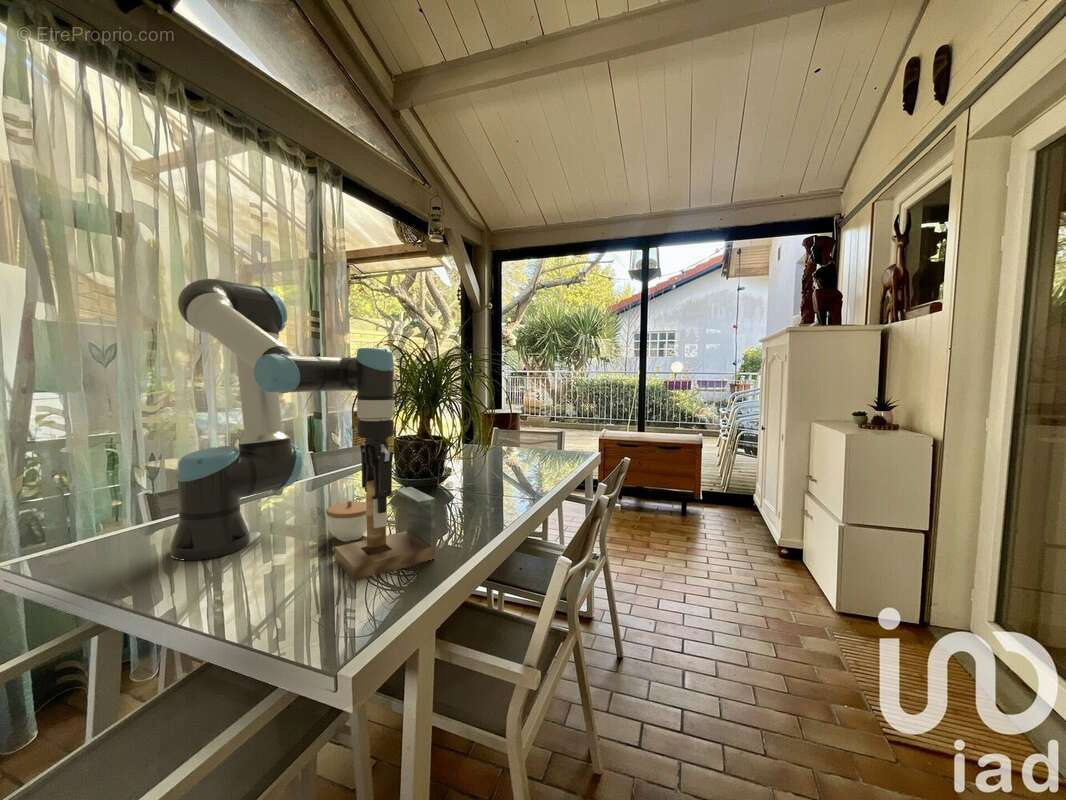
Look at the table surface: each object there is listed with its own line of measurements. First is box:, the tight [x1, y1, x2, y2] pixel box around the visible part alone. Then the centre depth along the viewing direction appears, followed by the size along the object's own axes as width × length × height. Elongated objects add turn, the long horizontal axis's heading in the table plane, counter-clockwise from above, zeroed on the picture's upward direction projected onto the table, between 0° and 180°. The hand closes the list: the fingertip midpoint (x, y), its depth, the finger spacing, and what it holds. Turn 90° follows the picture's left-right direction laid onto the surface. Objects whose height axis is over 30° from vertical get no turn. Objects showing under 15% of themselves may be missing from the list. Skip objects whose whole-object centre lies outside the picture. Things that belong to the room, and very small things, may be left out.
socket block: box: [334, 486, 436, 582], centre depth 100 cm, size 18×13×14 cm
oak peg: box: [366, 480, 387, 547], centre depth 98 cm, size 4×4×14 cm
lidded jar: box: [326, 500, 367, 542], centre depth 113 cm, size 11×11×9 cm
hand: (376, 523), depth 98 cm, fingers closed on oak peg, 4 cm apart
